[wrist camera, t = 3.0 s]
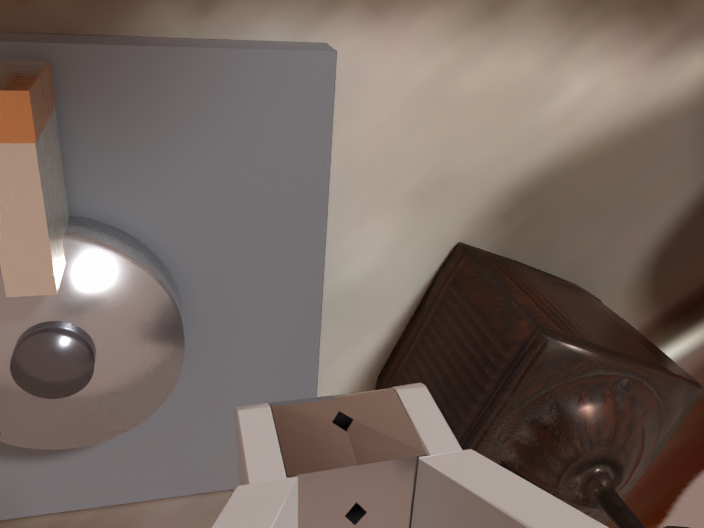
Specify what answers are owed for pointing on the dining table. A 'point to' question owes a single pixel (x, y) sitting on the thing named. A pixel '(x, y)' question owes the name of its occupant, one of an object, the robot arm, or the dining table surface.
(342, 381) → the dining table surface
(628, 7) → the dining table surface
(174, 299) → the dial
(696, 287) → the dining table surface
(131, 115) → the board
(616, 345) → the manual coffee grinder
